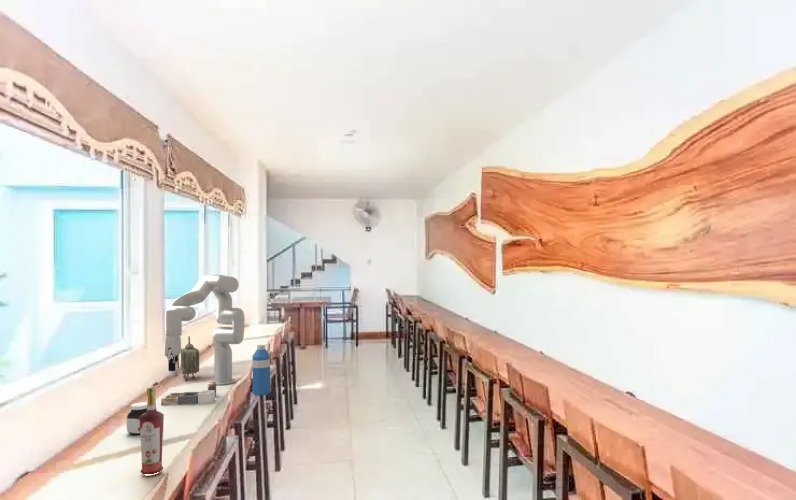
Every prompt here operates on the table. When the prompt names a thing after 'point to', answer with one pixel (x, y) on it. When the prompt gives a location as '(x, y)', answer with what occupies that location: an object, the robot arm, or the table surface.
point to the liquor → (151, 436)
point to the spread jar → (135, 417)
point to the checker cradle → (188, 398)
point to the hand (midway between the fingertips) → (173, 369)
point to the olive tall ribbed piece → (189, 360)
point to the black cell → (212, 386)
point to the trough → (170, 399)
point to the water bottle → (261, 371)
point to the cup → (206, 397)
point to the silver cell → (174, 373)
